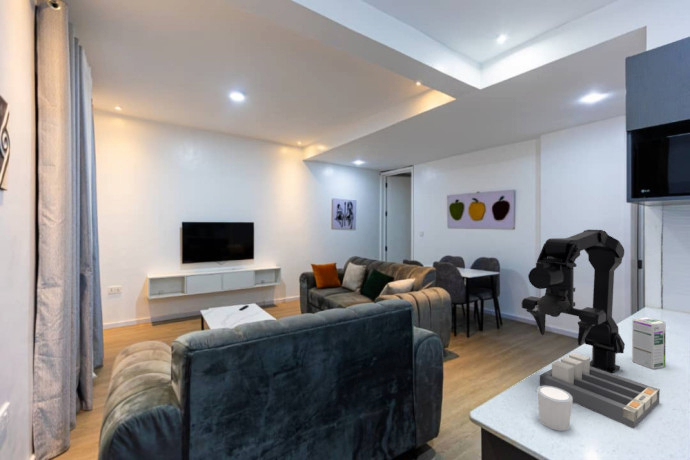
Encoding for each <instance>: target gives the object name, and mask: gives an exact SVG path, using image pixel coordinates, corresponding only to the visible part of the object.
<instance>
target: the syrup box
mask: <svg viewBox="0 0 690 460" xmlns="http://www.w3.org/2000/svg"><path fill="white" fill-rule="evenodd" d="M631 329H632V337H631V338H632V350H631V351H632V353H631V354H632V355H631V357H632V362H633V363H635V364H637V365H640V366H642V367H644V368H645V367H646V368H648V369H651V370H655V369H660V368H666V322H665V321H662V320H660V319H655V318H651V317H646V316H644V317H641V318H632V328H631Z"/></svg>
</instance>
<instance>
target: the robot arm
mask: <svg viewBox="0 0 690 460" xmlns="http://www.w3.org/2000/svg"><path fill="white" fill-rule="evenodd" d="M582 251H585V253H586V254H587V256H588V259H587V260H588V262H589V263H590V265H591V267H592V268H593V270H594V271H593V272H594V273H593V289H592V291H593V295H592V307H589V306H587V307H584V308H581V309H579V308H576V302H575V301H574V293H575V292H576V287H574V281H575V280H574V268H577V263H576V260H577V259H578V258H579V257H580V256H581V252H582ZM624 256H625V247H624V246H623V245H622V243H621V242H620V240H618V239H616V238H615V237H613V236H611V235H609V234H608V233H607V231H605V230H604V229H585V230H583V231H582V232H579V233H577V234H574V235H571V236H569V237H564V238H563V237H559V238H558V237H557V238H556V237H555V238H553V237H552V238H548V239H547V240H545V243H544V244H543V246H542V249H541V250H540V253H539V255H538V258H537V260H536V263H535V267H533V268H531V270H530V271H529V273H528V274H527V275H528V282H529V283H530V284H531V285H532V287H534V288H536V289H538V290H543V289H545V294H544V295H542V296H541V297H537V296H528V297H524V298H523V299H521V308H522V309H525V311H526V312H527V313H530V314H531V316H532V317H533V319H534V320H535V322H536V325H537V327H538V330H539V333H540V335H542V336H543V335H545V332H546V315H548V316H551V317H554V318H558V317H559V316H560V315H561V314H566V315H570V316H576V317H578V319H579V321H577V325H578V334H577V335H578V336H577V345H578V346H582V345H583V342H584V344H585V345H586V346H587V345H588V346H591V347H592V349H591V352H592V353H591V360H590V366H591V367H594V368H597V369H600V370H603V371H606V372H609V373H612V374H614V373H615V372H616V371H617V370H619V369H620V368H621V366H620V365H619V364H618V365H617V364H616V361H617V359H616V357H617V356H616V355H617V354H624V352H625V351H624V350H625V345H626V344H625V342H624V340H623V338H622V337H621V335H620V333H619V331H620V330H619V326H618V325H617V323H616V321H615V320H614V318H613V303H614V301H613V300H614V282H615V271H616V269H618V268H619V266H620V265H621V264H622V262H623V258H624ZM574 307H575V308H574Z"/></svg>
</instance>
